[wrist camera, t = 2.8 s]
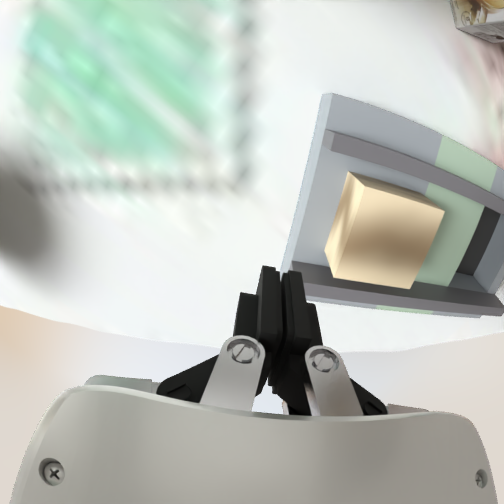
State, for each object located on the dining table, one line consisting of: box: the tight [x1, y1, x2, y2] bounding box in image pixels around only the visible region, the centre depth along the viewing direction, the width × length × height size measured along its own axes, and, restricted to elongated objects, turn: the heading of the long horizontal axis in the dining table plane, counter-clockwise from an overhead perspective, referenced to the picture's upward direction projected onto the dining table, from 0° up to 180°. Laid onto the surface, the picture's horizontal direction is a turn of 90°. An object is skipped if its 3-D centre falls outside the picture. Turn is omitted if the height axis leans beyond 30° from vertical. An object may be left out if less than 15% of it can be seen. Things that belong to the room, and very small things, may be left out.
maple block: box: [324, 171, 445, 289], centre depth 20 cm, size 7×7×4 cm
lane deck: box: [280, 93, 504, 318], centre depth 23 cm, size 18×28×7 cm, turn 80°
